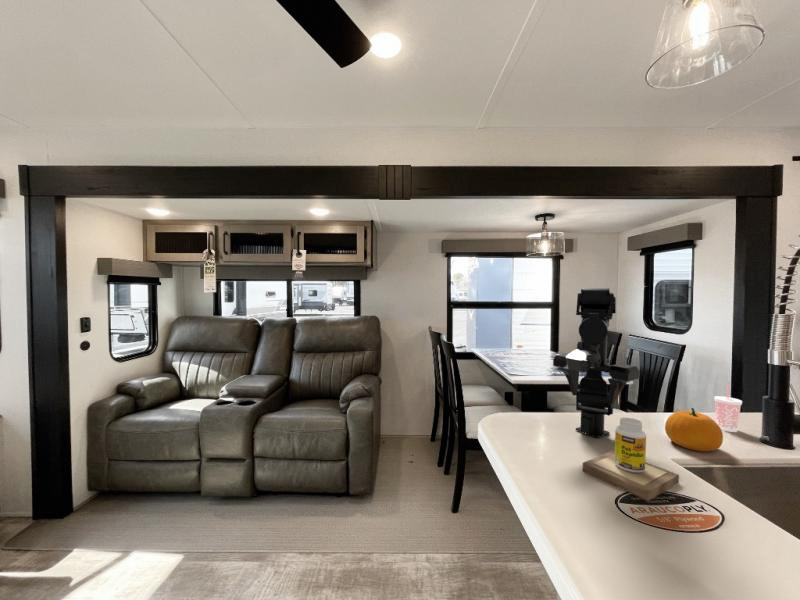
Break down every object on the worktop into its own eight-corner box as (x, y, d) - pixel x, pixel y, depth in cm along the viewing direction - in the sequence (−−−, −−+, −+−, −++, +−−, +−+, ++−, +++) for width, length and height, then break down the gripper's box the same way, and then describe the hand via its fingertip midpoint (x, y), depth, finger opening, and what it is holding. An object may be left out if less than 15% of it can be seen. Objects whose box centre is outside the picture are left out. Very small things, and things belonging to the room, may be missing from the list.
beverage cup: (711, 428, 104) (713, 381, 104) (714, 423, 108) (715, 378, 108) (740, 434, 99) (742, 386, 99) (741, 429, 104) (743, 382, 103)
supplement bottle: (617, 470, 74) (618, 422, 73) (612, 459, 79) (613, 414, 79) (648, 476, 71) (650, 426, 71) (641, 464, 77) (642, 418, 76)
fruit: (658, 443, 93) (659, 406, 92) (671, 433, 100) (673, 398, 100) (716, 461, 83) (718, 419, 83) (727, 448, 90) (728, 410, 90)
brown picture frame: (614, 457, 84) (614, 449, 84) (678, 483, 73) (678, 473, 73) (582, 470, 77) (582, 461, 77) (648, 501, 66) (648, 490, 66)
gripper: (540, 335, 90) (539, 395, 91) (616, 346, 74) (614, 418, 75) (566, 333, 96) (564, 389, 97) (641, 342, 80) (639, 409, 81)
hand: (592, 400), depth 87 cm, fingers open, 9 cm apart
